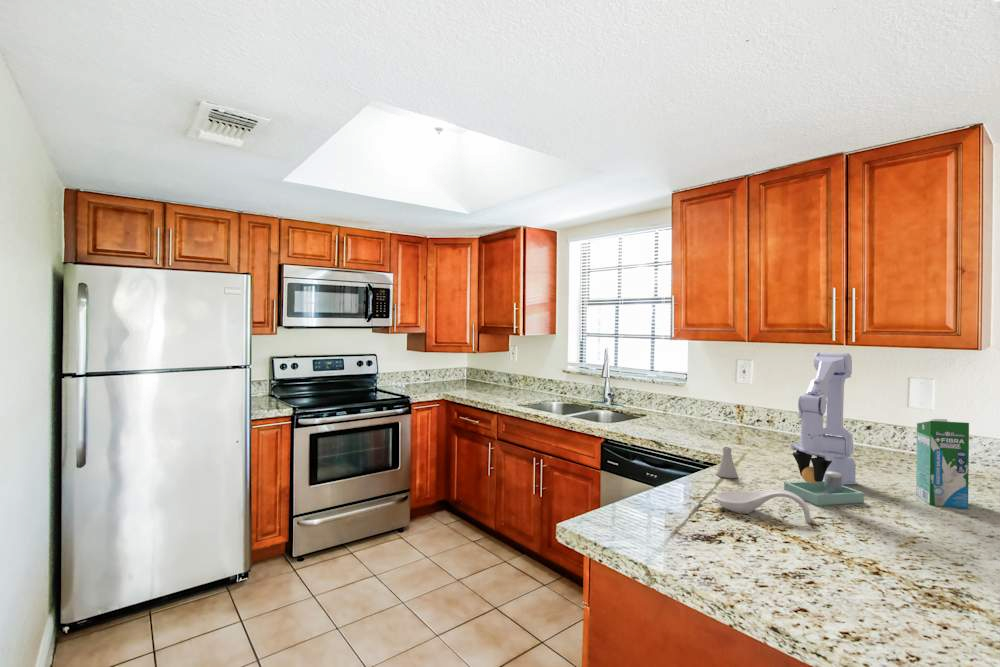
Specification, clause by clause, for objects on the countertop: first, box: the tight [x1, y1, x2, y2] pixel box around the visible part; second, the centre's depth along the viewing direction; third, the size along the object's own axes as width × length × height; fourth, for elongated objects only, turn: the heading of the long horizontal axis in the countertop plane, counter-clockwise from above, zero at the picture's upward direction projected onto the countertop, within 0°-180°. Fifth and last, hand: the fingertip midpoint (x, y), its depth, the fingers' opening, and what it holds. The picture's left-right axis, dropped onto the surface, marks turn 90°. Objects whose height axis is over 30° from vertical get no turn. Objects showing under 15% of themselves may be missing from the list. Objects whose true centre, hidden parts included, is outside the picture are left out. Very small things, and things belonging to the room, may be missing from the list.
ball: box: [801, 466, 817, 484], centre depth 153 cm, size 5×5×5 cm
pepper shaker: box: [824, 471, 842, 494], centre depth 154 cm, size 4×4×7 cm
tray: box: [783, 480, 865, 507], centre depth 154 cm, size 16×13×3 cm
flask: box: [716, 446, 739, 479], centre depth 176 cm, size 7×7×10 cm
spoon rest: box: [714, 489, 812, 524], centre depth 140 cm, size 24×12×7 cm, turn 62°
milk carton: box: [915, 418, 970, 510], centre depth 150 cm, size 9×9×25 cm
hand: (811, 478), depth 153 cm, fingers closed on ball, 5 cm apart
